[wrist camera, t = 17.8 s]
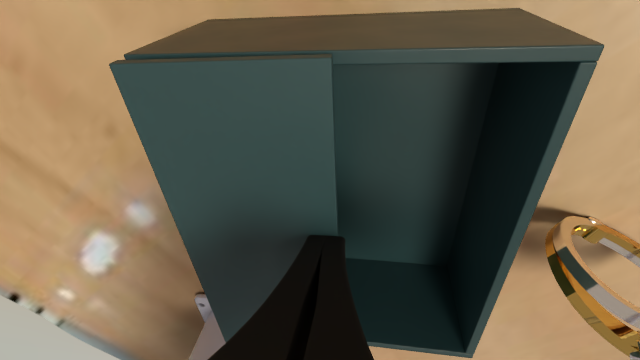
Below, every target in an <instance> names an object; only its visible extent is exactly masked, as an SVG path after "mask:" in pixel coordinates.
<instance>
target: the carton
mask: <svg viewBox="0 0 640 360" xmlns="http://www.w3.org/2000/svg"><path fill="white" fill-rule="evenodd" d="M603 48H604V45H603V44H601V43H599V42H596V41H594V40H592V39H589V38H587V37H585V36H582V35H580V34H578V33H575V32H573V31H571V30H568V29H566V28H564V27H562V26H559V25H557V24H555V23H552V22H550V21H548V20H545V19H543V18H541V17H538V16H536V15H534V14H531V13H529V12H527V11H524V10H522V9H520V8H510V9H483V10H456V11H429V12H403V13H376V14H349V15H322V16H296V17H269V18H242V19H215V20H207V21H204V22H202V23H199V24H197V25H194V26H192V27H190V28H187V29H185V30H182V31H180V32H177V33H175V34H173V35H170V36H168V37H165V38H163V39H161V40H158V41H156V42H153V43H151V44H148V45H146V46H144V47H141V48H139V49H136V50H134V51H131V52H129V53H127V54H125V55H124V57H125V60H146V59H180V58H213V57H247V56H281V55H314V54H332V55H333V78H334V110H335V142H336V173H337V205H338V236H342V237H343V238H345V255H346V269H347V275H348V280H349V284H350V289H351V293H352V297H353V301H354V304H355V308H356V311H357V315H358V318H359V321H360V324H361V327H362V330H363V333H364V336H365V338H366V341H367V344H368V346H374V347H383V348H391V349H399V350H408V351H416V352H424V353H433V354H441V355H449V356H458V357H466V358H472V357H473V354H474V352H475V350H476V347H477V345H478V343H479V340H480V338H481V336H482V333H483V331H484V329H485V326H486V324H487V322H488V319H489V317H490V314H491V312H492V310H493V307H494V305H495V303H496V300H497V298H498V296H499V293H500V291H501V289H502V286H503V284H504V281H505V279H506V277H507V274H508V272H509V270H510V267H511V265H512V263H513V260H514V258H515V256H516V253H517V251H518V249H519V246H520V244H521V241H522V239H523V237H524V234H525V232H526V230H527V227H528V225H529V223H530V220H531V218H532V216H533V213H534V211H535V208H536V206H537V204H538V201H539V199H540V197H541V194H542V192H543V190H544V187H545V185H546V183H547V180H548V178H549V175H550V173H551V171H552V168H553V166H554V164H555V161H556V159H557V157H558V154H559V152H560V150H561V147H562V145H563V142H564V140H565V138H566V135H567V133H568V131H569V128H570V126H571V124H572V121H573V119H574V117H575V114H576V112H577V109H578V107H579V105H580V102H581V100H582V98H583V95H584V93H585V91H586V88H587V86H588V84H589V81H590V79H591V77H592V74H593V72H594V69H595V67H596V65H597V62H596V61H598V60H599V58H600V55H601V53H602V51H603Z"/></svg>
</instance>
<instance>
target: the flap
mask: <svg viewBox="0 0 640 360" xmlns="http://www.w3.org/2000/svg"><path fill="white" fill-rule="evenodd" d="M109 66H110V68H111V71H112V73H113V75H114V78H115V80H116V83H117V85H118V87H119V90H120V92H121V95H122V97H123V99H124V102H125V104H126V106H127V109H128V111H129V114H130V116H131V118H132V121H133V123H134V126H135V128H136V130H137V133H138V135H139V137H140V140H141V142H142V145H143V147H144V149H145V152H146V154H147V156H148V159H149V161H150V164H151V166H152V168H153V171H154V173H155V176H156V178H157V180H158V183H159V185H160V187H161V190H162V192H163V195H164V197H165V199H166V202H167V204H168V207H169V209H170V211H171V214H172V216H173V218H174V221H175V223H176V226H177V228H178V230H179V233H180V235H181V238H182V240H183V242H184V245H185V247H186V249H187V252H188V254H189V257H190V259H191V261H192V264H193V266H194V269H195V271H196V273H197V276H198V278H199V280H200V283H201V285H202V288H203V290H204V292H205V295H206V297H207V299H208V302H209V304H210V307H211V309H212V311H213V314H214V316H215V319H216V321H217V323H218V326H219V328H220V330H221V333H222V335H223V338H224V340H225V342H227V341H228V340H229V339H230V338H231V337H232V336H233V335H234V334H235V333H236V332H237V331H238V330H239V329H240V328H241V327H242V326H243V325H244V324H245V323H246V322H247V321H248V320H249V319H250V318H251V317H252V315H253V314H254V313H255V312H256V311H257V310H258V309H259V308H260V306H261V305H262V304H263V303H264V302H265V300H266V299H267V298H268V297H269V295H270V294H271V293H272V291H273V290H274V289H275V287H276V286H277V285H278V283H279V282H280V281H281V279H282V278H283V277H284V275H285V274H286V272H287V271H288V269H289V268H290V266H291V265H292V263H293V262H294V260H295V258H296V257H297V255H298V254H299V252H300V250H301V248H302V247H303V245H304V243H305V241H306V239H307V237H308V236H309V235H326V236H338V205H337V173H336V142H335V110H334V78H333V55H332V54H314V55H281V56H247V57H213V58H180V59H146V60H117V61H115V62H112V63H110V64H109Z"/></svg>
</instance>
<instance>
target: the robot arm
mask: <svg viewBox="0 0 640 360" xmlns="http://www.w3.org/2000/svg"><path fill="white" fill-rule="evenodd" d="M195 302H196V304H197V307H198V309H199V311H200V313H201V315H202V317H203V320H204V322H205V325H204V327H203V329H202V331H201V333H200V335H199V337H198V340H197V342H196V344H195V346H194V348H193V350H192V352H191V355H190V357H189V359H188V360H374V359H373V356H372V354H371V351H370V349H369V346H368V344H367V341H366V338H365V336H364V333H363V330H362V327H361V324H360V321H359V318H358V315H357V311H356V308H355V304H354V301H353V297H352V293H351V289H350V284H349V280H348V275H347V269H346V255H345V238H343V237H342V236H326V235H309V236H308V237H307V239H306V241H305V243H304V245H303V247H302V248H301V250H300V252H299V254H298V255H297V257H296V258H295V260H294V262H293V263H292V265H291V266H290V268H289V269H288V271H287V272H286V274H285V275H284V277H283V278H282V279H281V281H280V282H279V283H278V285H277V286H276V287H275V289H274V290H273V291H272V293H271V294H270V295H269V297H268V298H267V299H266V300H265V302H264V303H263V304H262V305H261V306H260V308H259V309H258V310H257V311H256V312H255V313H254V314H253V315H252V317H251V318H250V319H249V320H248V321H247V322H246V323H245V324H244V325H243V326H242V327H241V328H240V329H239V330H238V331H237V332H236V333H235V334H234V335H233V336H232V337H231V338H230V339H229V340H228V341H227V342H225V340H224V338H223V335H222V333H221V330H220V328H219V326H218V323H217V321H216V319H215V316H214V314H213V311H212V309H211V307H210V304H209V302H208V299H207V297H206V295H205V294H197V295H196V297H195Z"/></svg>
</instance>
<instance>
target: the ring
mask: <svg viewBox="0 0 640 360" xmlns="http://www.w3.org/2000/svg"><path fill="white" fill-rule="evenodd" d="M571 235H579V236H582V237H583V238H584V239H585V240H587V241H589V242H591V243H594V244H596V243H598V242H599V243H601V244H603V245H605V246H607V247H609V248H611V249H613V250H614V251H616V252H618V253H619V254H621V255H623V256H624V257H626V258H627V259H629V260H630V261H632V262H633V263H634V264H636V265H637V266H638V267H640V244H638V243H637V242H635V241H633V240H632V239H630V238H628V237H626V236H625V235H623V234H621V233H619V232H617V231H615V230H613V229H611V228H609V227H607V226H605V225H603V223H602V222H600V221H599V220H597V219H595V218H592V217H589V218H588V219H587V218H583V217H578V216H569V217H566V218H564V219H563V220H562V221H561V222H559V223H557V224H556V225H555V226H554V227H553V228H552V229H550V230H549V232H548V233H547V236H546V241H545V247H546V254H547V258H548V262H549V265H550V267H551V270H552V272H553V274H554V277H555V279H556V281H557V282H558V284H559V286H560V288H561V289H562V291H563V293H564V294H565V296H566V297H567V299H568V300H569V301H570V303H571V304H572V305H573V307H574V308H575V309H576V310H577V312H578V313H579V314H580V315H581V316H582V317H583V318H584V320H585V321H586V322H587V323H588V324H589V325H590V326H591V327H592V328H593V329H594V330H595V331H597V332H598V333H599V334H600V335H601V336H602V337H603V338H604V339H606V340H607V341H608V342H609V343H611V344H612V345H613V346H615V347H616V348H617V349H619V350H620V351H622V352H623V353H624V354H626V355H628V356H629V357H630V360H640V331H637V332H636V331H634V330H633V329H631V328H629V327H628V326H626V325H625V324H623V323H622V322H620V321H619V320H618V319H616V318H615V317H614V316H612V315H611V314H610V313H609V312H608V311H607V310H605V309H604V308H603V307H602V306H601V305H603V306H604V307H605V308H606V309H608V310H609V311H610V312H612V313H613V314H615V315H616V316H618V317H619V318H621V319H623V320H624V321H626V322H628V323H629V324H631V325H633V326H635V327H637V328H639V329H640V308H639V307H637V306H635V305H633V304H632V303H630V302H628V301H627V300H625V299H624V298H622V297H621V296H620V295H618V294H617V293H616V292H614V291H613V290H612V289H610V288H609V287H608V286H607V285H606V284H605V283H604V282H602V281H601V280H600V279H599V278H598V277H597V276H596V275H595V274H594V273H593V272H592V271H591V270H590V268H589V267H588V266H587V265H586V264H585V263H584V261H583V260H582V259H581V257H580V256H579V254H578V253H577V251H576V249H575V248H574V245H573V243H572V239H571ZM596 300H597V301H598V302H599V303H600V304H601V305H600V304H599V303H598V302H597V301H596Z"/></svg>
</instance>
